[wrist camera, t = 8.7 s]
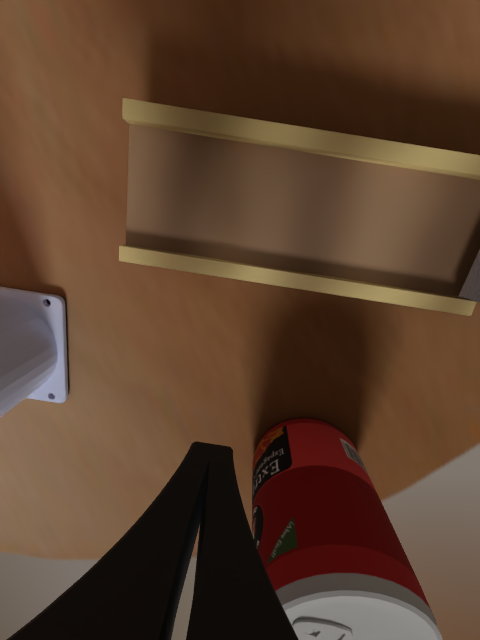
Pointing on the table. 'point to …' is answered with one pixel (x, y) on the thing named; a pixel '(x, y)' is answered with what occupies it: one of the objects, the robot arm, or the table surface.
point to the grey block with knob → (472, 282)
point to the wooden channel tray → (300, 207)
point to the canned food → (331, 540)
